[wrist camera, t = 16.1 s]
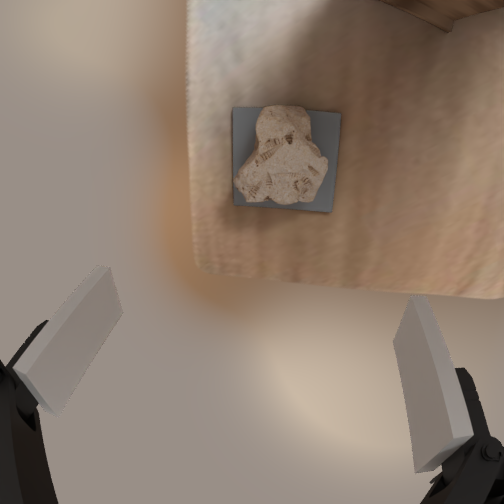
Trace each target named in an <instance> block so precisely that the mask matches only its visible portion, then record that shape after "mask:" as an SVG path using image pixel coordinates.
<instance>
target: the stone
mask: <svg viewBox="0 0 504 504" xmlns="http://www.w3.org/2000/svg"><path fill="white" fill-rule="evenodd" d="M310 122H311V121H310V116H309V115H308V114H307V113H306V111H305V109H304V108H303V107H301V106H292V105H286V106H281V105H271V106H265V107H263V109H262V111H261V112H260V114H259V117H258V119H257V123H256V129H255V130H256V135H255V136H256V142H255V144H254V150H253V152H252V154H251V155H250V156H249V158H248V159H247V160H246V161H245V163H244V165H243V166H242V167H241V168H240V169H239V171H238V173H237V175H236V176H235V177H234V179H233V182H234V184H235V187H236V188H237V189H238V191H239V192H241V193H242V194H243V196H244V198H245V200H246V202H251V203H252V202H264V201H269V200H272V201H274V202H276V203H278V204H282V205H289V204H293V203H296V202H298V201H301V202H308V203H309V202H312V201H313V200H314V198H315V196H316V194H317V191H318V189H319V187H320V185H321V184H322V182H323V179H324V177H325V175H326V172H327V170H328V159H327V158H326V157H324V156H321V154H320V150H319V148H318V147H317V146H316V144H314V143H313V142H311V141H312V139H311V125H310Z"/></svg>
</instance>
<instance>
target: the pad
mask: <svg viewBox="0 0 504 504" xmlns="http://www.w3.org/2000/svg"><path fill="white" fill-rule="evenodd" d="M262 109H263V108H255V107H233V179H234V177H235V176H236V175H237V173H238V171H239V169H240V168H241V167H242V166H243V165H244V163H245V161H246V160H247V159H248V158H249V156H250V155H251V154H252V152H253V150H254V144H255V142H256V136H255V135H256V130H255V129H256V123H257V119H258V117H259V114H260V112H261V111H262ZM305 111H306V113H307V114H308V115H309V116H310V121H311V122H310V125H311V139H312V141H311V142H313V143H314V144H316V146H317V147H318V148H319V150H320V154H321V156H324V157H326V158H327V159H328V170H327V172H326V175H325V177H324V179H323V182H322V184H321V185H320V187H319V189H318V191H317V194H316V196H315V198H314V200H313V201H312V202H309V203H308V202H301V201H298V202H296V203H293V204H289V205H282V204H278V203H276V202H274V201H272V200H269V201H264V202H252V203H251V202H246V200H245V198H244V196H243V194H242V193H241V192H239V191H238V189H237V188H236V187H235V184H234V182H233V190H234V205H238V206H255V207H269V208H283V209H296V210H309V211H321V212H332V207H333V199H334V190H335V180H336V171H337V160H338V149H339V137H340V123H341V113H335V112H325V111H313V110H305Z"/></svg>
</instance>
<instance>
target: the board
mask: <svg viewBox="0 0 504 504" xmlns="http://www.w3.org/2000/svg"><path fill="white" fill-rule="evenodd" d="M379 1H382V2H384V3H387V4H389V5H392V6H394V7H396V8H399V9H401V10H403V11H406V12H408V13H410V14H412V15H414V16H416V17H419V18H421V19H423V20H425V21H427V22H429V23H431V24H433V25H434V26H436V27H438V28H440V29H442V30H444V31H446V32H447V33H449V32H452V27H453V23H454V20H458V19H461V18H464V17H468V16H471V15H474V14H478V13H482V12H486V11H489V10H493V9H497V8H502V7H504V0H379Z"/></svg>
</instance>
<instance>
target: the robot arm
mask: <svg viewBox="0 0 504 504" xmlns="http://www.w3.org/2000/svg"><path fill="white" fill-rule="evenodd" d="M122 314H123V311H122V308H121V304H120V301H119V298H118V294H117V291H116V287H115V283H114V280H113V276H112V273H111V268H110V267H105V266H96V267H95V268H94V269H93V271H92V272H91V273H90V274H89V275H88V276H87V277H86V278H85V280H83V282H82V283H81V284H80V285H79V286H78V287H77V288H76V289H75V291H74V292H73V293H72V294H71V295H70V297H69V298H68V299H67V300H66V301H65V302H64V303H63V305H62V306H61V307H60V308H59V309H58V311H57V312H56V313H55V314H54V315H53V317H52V318H51V319H50V320H46V321H44V322H43V323H41V324H40V325H39V326H37V327H36V328H35V330H34V331H33V332H32V333H31V334H30V337H28V338H27V339H26V341H25V343H23V345H22V346H21V347H20V348H19V350H18V351H17V352H16V354H15V355H14V356H13V358H12V359H11V360H10V362H9V363H8V364H7V366H6V367H5V366H4V364H3V363H2V362H1V360H0V504H58V501H57V497H56V494H55V490H54V486H53V483H52V479H51V475H50V471H49V467H48V462H47V458H46V453H45V448H44V443H43V437H42V431H41V425H40V418H39V413H38V410H37V408H36V407H37V405H38V404H40V405H41V407H42V408H43V409H44V410H45V411H46V412H48V413H50V414H52V415H54V416H56V417H59V416H60V415H61V413H62V411H63V409H64V408H65V405H66V404H67V402H68V401H69V399H70V397H71V395H72V394H73V392H74V390H75V389H76V387H77V385H78V384H79V382H80V380H81V378H82V377H83V375H84V374H85V372H86V370H87V368H88V367H89V365H90V363H91V362H92V360H93V359H94V357H95V356H96V354H97V353H98V351H99V349H100V348H101V346H102V345H103V343H104V342H105V340H106V338H107V337H108V335H109V334H110V332H111V330H112V329H113V327H114V326H115V324H116V323H117V322H118V320H119V318H120V317H121V315H122ZM393 345H394V349H395V353H396V358H397V363H398V367H399V372H400V377H401V382H402V387H403V393H404V398H405V403H406V409H407V416H408V422H409V429H410V436H411V443H412V451H413V459H414V469H415V473H421V472H428V471H434V470H435V469H436V468H437V467H438V466H440V465H442V472H441V473H440V474H438V475H437V476H436V477H435V478H433V479H432V480H431V481H430V483H431V484H432V483H433V482H434V484H433V486H432V487H431V488H430V490H429V491H428V493H427V494H426V496H425V497H424V499H423V500H422V502H421V503H420V504H504V447H503V446H502V444H501V442H500V441H499V440H498V439H496V438H494V437H491V436H490V433H489V430H488V426H487V423H486V419H485V416H484V412H483V409H482V406H481V402H480V401H479V396H478V393H477V391H476V387H475V384H474V382H473V378H472V377H471V375H470V374H469V373H468V372H467V370H466V369H465V368H454V365H453V363H452V360H451V357H450V354H449V351H448V348H447V346H446V343H445V340H444V338H443V335H442V333H441V330H440V327H439V325H438V323H437V320H436V317H435V315H434V313H433V310H432V308H431V306H430V303H429V301H428V298H427V297H426V296H415V295H411V296H410V299H409V302H408V304H407V307H406V310H405V312H404V315H403V318H402V320H401V323H400V326H399V328H398V331H397V333H396V335H395V338H394V340H393Z"/></svg>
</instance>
